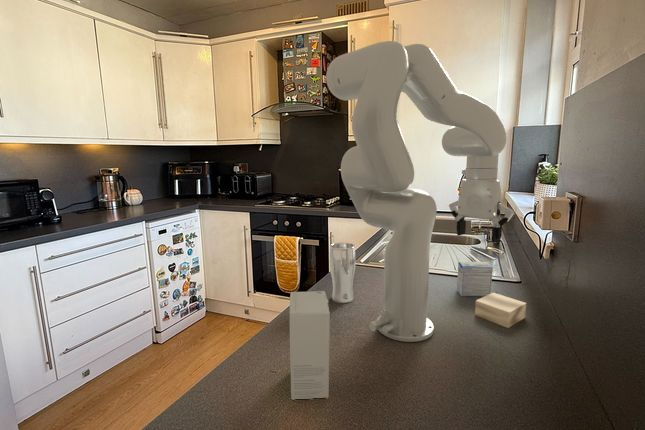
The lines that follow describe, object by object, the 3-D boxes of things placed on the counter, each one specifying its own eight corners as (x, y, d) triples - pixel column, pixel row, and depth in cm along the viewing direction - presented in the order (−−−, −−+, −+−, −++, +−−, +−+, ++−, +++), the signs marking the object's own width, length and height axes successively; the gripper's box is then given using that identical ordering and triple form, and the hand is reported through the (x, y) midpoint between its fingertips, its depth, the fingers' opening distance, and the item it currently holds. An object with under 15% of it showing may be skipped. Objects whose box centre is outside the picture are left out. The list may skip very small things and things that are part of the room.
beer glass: (358, 295, 97) (359, 243, 94) (350, 306, 91) (350, 250, 88) (335, 292, 100) (335, 241, 97) (325, 301, 94) (325, 247, 91)
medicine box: (485, 290, 99) (487, 261, 98) (490, 297, 95) (493, 266, 93) (456, 290, 100) (458, 261, 98) (460, 296, 96) (462, 266, 94)
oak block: (507, 329, 79) (509, 312, 78) (474, 315, 85) (475, 300, 84) (524, 318, 83) (526, 303, 82) (492, 307, 90) (493, 292, 89)
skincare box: (291, 370, 64) (288, 290, 62) (327, 368, 65) (326, 289, 62) (290, 402, 56) (287, 312, 53) (331, 400, 57) (330, 310, 54)
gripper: (443, 174, 96) (441, 234, 99) (508, 177, 83) (503, 247, 86) (458, 172, 100) (456, 230, 104) (522, 175, 87) (517, 241, 90)
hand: (477, 237), depth 95 cm, fingers open, 9 cm apart
